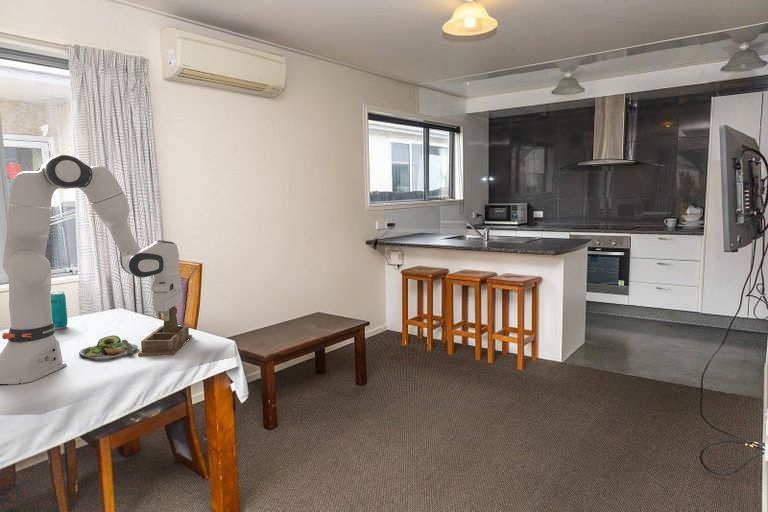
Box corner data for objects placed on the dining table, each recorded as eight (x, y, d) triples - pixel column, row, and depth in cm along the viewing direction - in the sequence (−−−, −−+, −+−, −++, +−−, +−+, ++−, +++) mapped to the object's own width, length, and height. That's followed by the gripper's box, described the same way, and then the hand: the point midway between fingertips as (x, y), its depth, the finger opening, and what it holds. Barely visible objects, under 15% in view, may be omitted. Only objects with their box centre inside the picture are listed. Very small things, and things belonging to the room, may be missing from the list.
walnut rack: (173, 355, 176) (172, 341, 175) (138, 356, 175) (137, 342, 174) (192, 336, 197) (191, 324, 197) (160, 337, 196) (160, 325, 196)
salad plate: (152, 351, 181) (152, 339, 180) (104, 366, 166) (103, 352, 165) (120, 342, 190) (119, 331, 190) (72, 356, 175) (71, 343, 174)
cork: (173, 337, 187) (172, 308, 185) (159, 336, 188) (157, 308, 186) (182, 332, 193) (181, 305, 191) (168, 331, 194) (167, 304, 192)
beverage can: (52, 326, 210) (50, 292, 208) (68, 325, 212) (66, 291, 210) (50, 330, 205) (47, 294, 203) (66, 328, 207) (63, 293, 205)
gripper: (168, 277, 197) (170, 311, 199) (148, 288, 177) (151, 325, 179) (185, 277, 198) (187, 311, 200) (167, 288, 178) (169, 325, 180)
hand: (170, 318), depth 189 cm, fingers closed on cork, 4 cm apart
